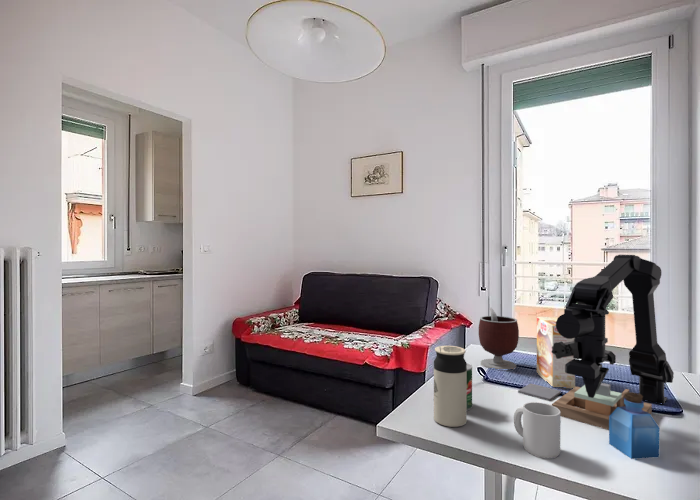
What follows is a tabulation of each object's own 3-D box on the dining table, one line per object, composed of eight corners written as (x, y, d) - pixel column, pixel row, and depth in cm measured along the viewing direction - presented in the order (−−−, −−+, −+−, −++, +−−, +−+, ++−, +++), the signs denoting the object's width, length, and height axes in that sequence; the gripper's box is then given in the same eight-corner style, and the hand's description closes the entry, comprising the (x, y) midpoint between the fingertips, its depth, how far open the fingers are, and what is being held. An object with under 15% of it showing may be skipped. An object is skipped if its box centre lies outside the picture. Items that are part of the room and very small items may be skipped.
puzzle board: (575, 394, 116) (575, 377, 116) (651, 413, 103) (651, 394, 103) (551, 413, 103) (551, 394, 103) (635, 437, 90) (635, 415, 90)
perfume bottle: (609, 443, 87) (609, 390, 87) (635, 442, 88) (635, 389, 88) (631, 459, 81) (631, 400, 81) (659, 457, 82) (659, 399, 82)
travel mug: (467, 416, 102) (467, 346, 101) (465, 430, 94) (465, 354, 94) (435, 412, 104) (435, 344, 104) (431, 425, 97) (431, 351, 96)
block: (590, 412, 104) (590, 393, 104) (610, 418, 101) (610, 398, 101) (585, 417, 101) (585, 398, 101) (605, 423, 98) (605, 403, 98)
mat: (530, 385, 124) (530, 383, 124) (561, 392, 118) (561, 390, 118) (518, 392, 118) (518, 390, 118) (549, 401, 112) (549, 398, 112)
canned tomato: (452, 397, 114) (452, 359, 114) (477, 405, 109) (477, 365, 109) (437, 405, 109) (437, 365, 109) (462, 413, 103) (462, 371, 103)
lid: (584, 388, 107) (584, 375, 107) (621, 397, 101) (621, 383, 101) (574, 396, 101) (574, 383, 101) (612, 406, 95) (612, 391, 95)
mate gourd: (525, 371, 139) (525, 314, 138) (485, 371, 139) (485, 314, 139) (508, 358, 154) (508, 307, 154) (472, 358, 154) (472, 307, 154)
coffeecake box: (535, 372, 137) (535, 316, 137) (557, 373, 136) (557, 317, 136) (551, 387, 122) (551, 325, 122) (576, 389, 121) (576, 325, 121)
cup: (548, 463, 80) (549, 419, 80) (504, 442, 88) (504, 402, 88) (566, 452, 84) (567, 410, 84) (523, 434, 92) (523, 395, 92)
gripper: (568, 323, 109) (568, 380, 109) (542, 334, 96) (542, 398, 96) (616, 329, 101) (615, 390, 101) (594, 342, 88) (594, 412, 88)
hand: (591, 397), depth 97 cm, fingers closed
